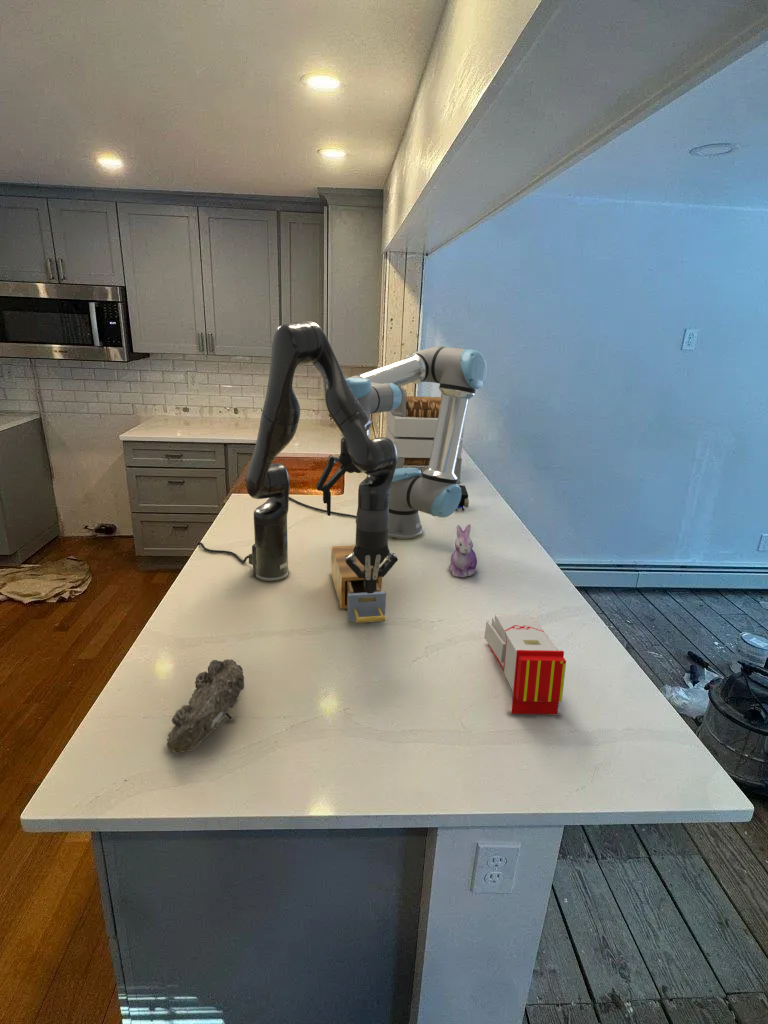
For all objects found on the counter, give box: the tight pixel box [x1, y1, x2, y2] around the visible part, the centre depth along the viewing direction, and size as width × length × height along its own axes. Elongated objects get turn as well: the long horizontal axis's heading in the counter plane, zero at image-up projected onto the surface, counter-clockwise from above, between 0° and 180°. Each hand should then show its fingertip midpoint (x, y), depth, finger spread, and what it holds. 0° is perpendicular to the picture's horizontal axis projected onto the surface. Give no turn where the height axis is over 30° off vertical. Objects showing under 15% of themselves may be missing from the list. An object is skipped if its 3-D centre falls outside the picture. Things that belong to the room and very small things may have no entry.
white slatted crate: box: [385, 386, 465, 484], centre depth 268 cm, size 34×33×41 cm
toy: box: [484, 614, 567, 716], centre depth 124 cm, size 12×13×30 cm
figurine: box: [449, 523, 478, 578], centre depth 170 cm, size 9×10×15 cm
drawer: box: [345, 580, 387, 624], centre depth 147 cm, size 25×9×7 cm, turn 12°
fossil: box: [166, 658, 245, 754], centre depth 106 cm, size 22×10×15 cm
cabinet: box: [330, 544, 383, 610], centre depth 158 cm, size 20×11×9 cm, turn 12°
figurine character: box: [455, 484, 470, 512], centre depth 229 cm, size 7×8×15 cm
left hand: (369, 591), depth 136 cm, fingers closed
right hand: (353, 513), depth 158 cm, fingers open, 13 cm apart
